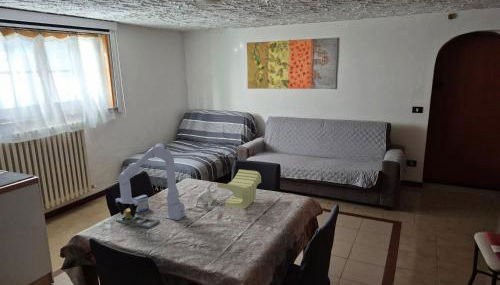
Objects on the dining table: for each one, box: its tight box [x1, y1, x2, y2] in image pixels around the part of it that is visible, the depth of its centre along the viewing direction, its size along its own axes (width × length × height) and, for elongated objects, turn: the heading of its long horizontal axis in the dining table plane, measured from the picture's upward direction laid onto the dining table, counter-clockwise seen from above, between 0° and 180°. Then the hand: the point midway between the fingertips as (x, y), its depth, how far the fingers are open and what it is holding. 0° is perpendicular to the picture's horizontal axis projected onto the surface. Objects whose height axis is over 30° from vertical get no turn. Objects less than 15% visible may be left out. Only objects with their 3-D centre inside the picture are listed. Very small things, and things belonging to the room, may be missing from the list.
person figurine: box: [193, 181, 220, 209], centre depth 216 cm, size 13×13×18 cm
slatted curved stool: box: [216, 169, 262, 210], centre depth 214 cm, size 30×16×18 cm, turn 156°
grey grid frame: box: [115, 214, 161, 230], centre depth 192 cm, size 24×9×1 cm, turn 65°
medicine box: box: [132, 194, 150, 214], centre depth 208 cm, size 8×4×9 cm, turn 143°
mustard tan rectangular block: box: [122, 207, 133, 221], centre depth 195 cm, size 4×4×6 cm
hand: (128, 215), depth 195 cm, fingers open, 7 cm apart
